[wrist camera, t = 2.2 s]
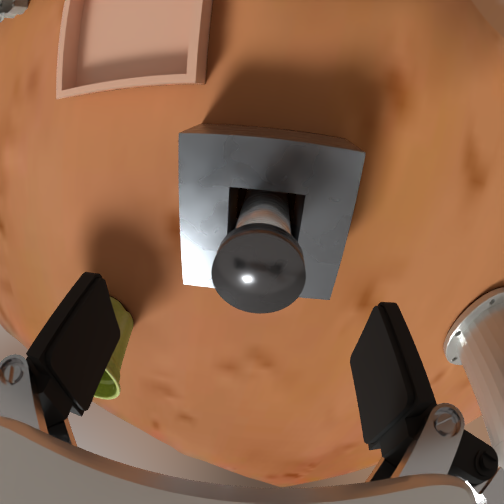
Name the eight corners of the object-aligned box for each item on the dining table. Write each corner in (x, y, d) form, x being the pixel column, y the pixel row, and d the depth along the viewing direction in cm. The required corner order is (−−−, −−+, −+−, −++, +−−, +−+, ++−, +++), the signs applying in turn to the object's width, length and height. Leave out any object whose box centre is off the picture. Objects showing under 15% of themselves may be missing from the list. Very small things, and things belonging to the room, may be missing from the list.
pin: (297, 172, 20) (314, 242, 11) (290, 223, 22) (296, 317, 13) (241, 166, 20) (211, 231, 11) (238, 217, 22) (211, 307, 13)
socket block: (345, 138, 18) (365, 152, 14) (321, 260, 23) (329, 299, 19) (201, 123, 18) (178, 132, 14) (200, 247, 24) (183, 283, 19)
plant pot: (71, 270, 26) (26, 323, 19) (147, 294, 27) (111, 361, 20) (83, 327, 31) (53, 378, 24) (148, 350, 32) (125, 409, 24)
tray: (217, -37, 12) (210, -51, 9) (205, 84, 17) (195, 82, 15) (85, -11, 12) (68, -16, 10) (75, 96, 17) (56, 99, 15)
